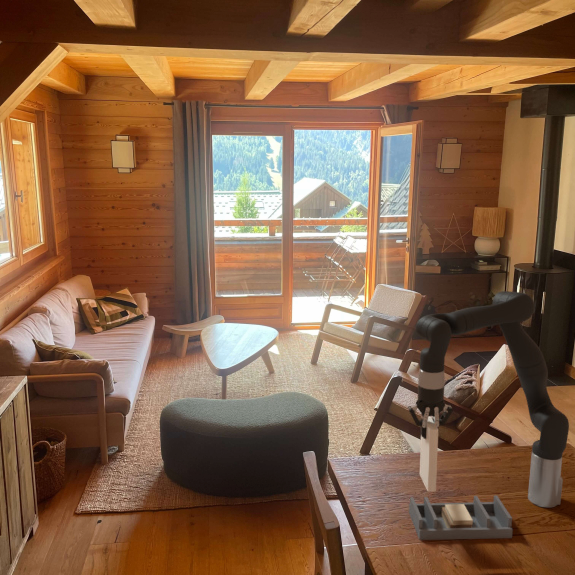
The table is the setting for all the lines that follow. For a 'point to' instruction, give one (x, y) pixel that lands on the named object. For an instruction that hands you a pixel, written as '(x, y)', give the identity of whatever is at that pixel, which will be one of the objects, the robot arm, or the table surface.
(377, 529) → the table surface
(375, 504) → the table surface
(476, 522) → the rack
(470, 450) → the table surface
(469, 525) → the offcuts
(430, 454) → the white rectangular board
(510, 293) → the robot arm
